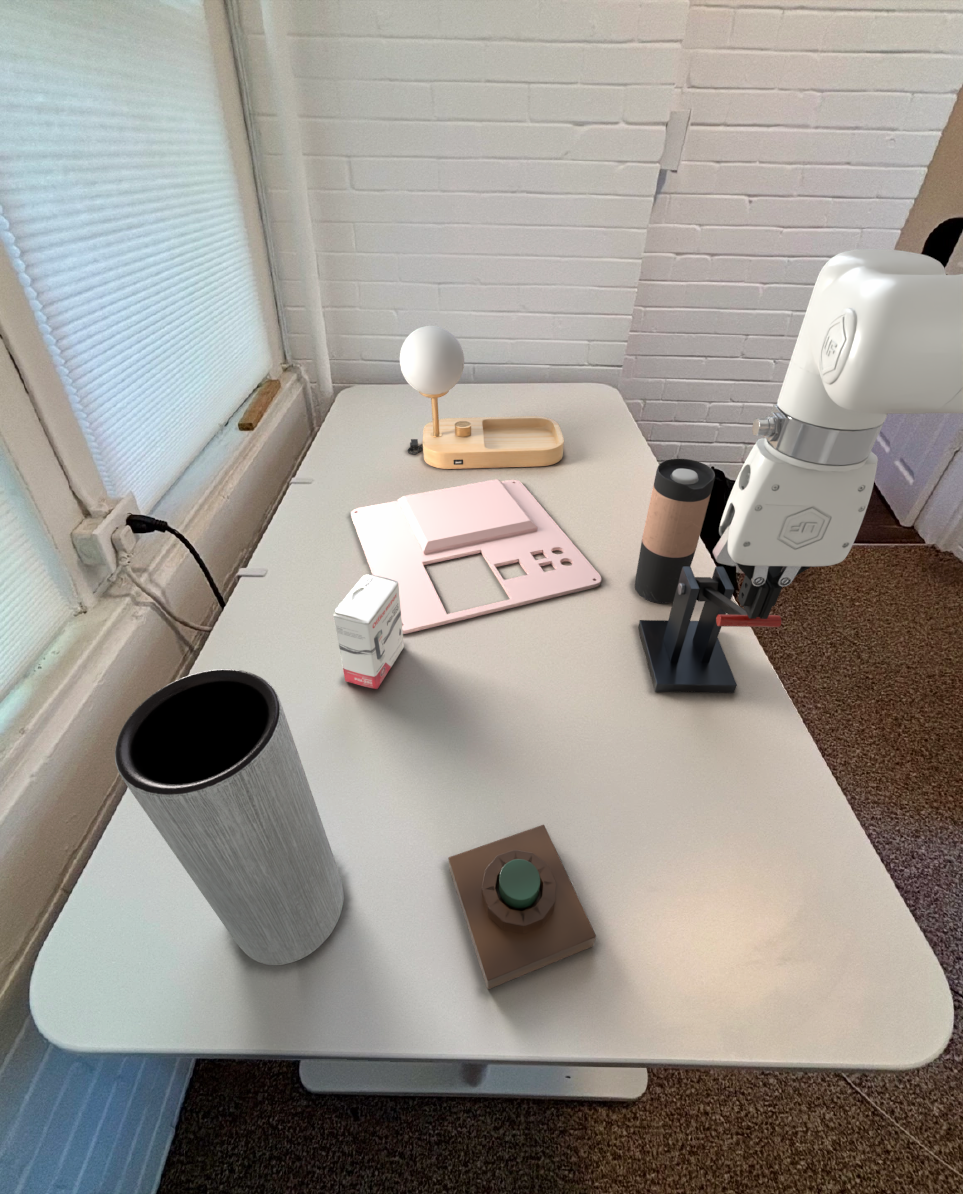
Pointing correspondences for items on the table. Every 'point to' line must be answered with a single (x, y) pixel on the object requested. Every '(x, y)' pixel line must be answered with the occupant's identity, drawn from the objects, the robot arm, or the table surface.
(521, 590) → the panel
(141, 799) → the vase
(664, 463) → the travel mug
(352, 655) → the ink box
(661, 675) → the bracket
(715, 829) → the table surface
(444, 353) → the lamp
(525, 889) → the button
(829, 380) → the robot arm
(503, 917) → the block
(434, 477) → the table surface
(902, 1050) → the table surface
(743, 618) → the lever
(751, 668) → the table surface
